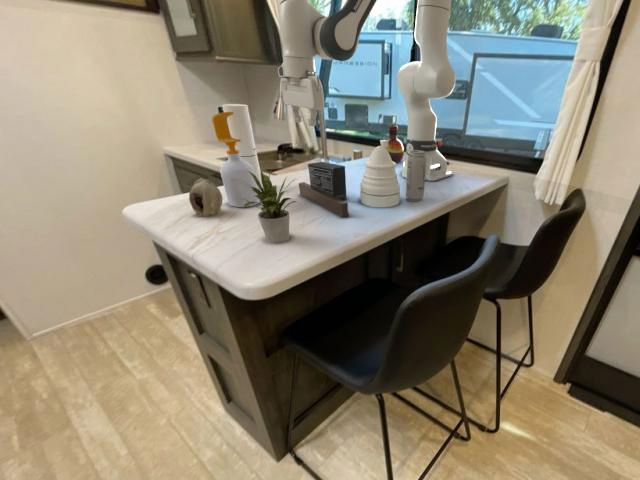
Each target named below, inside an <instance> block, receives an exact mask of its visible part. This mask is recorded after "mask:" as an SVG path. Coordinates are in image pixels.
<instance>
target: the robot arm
mask: <svg viewBox="0 0 640 480" xmlns="http://www.w3.org/2000/svg"><path fill="white" fill-rule="evenodd" d="M377 1H378V0H345V2H344V4H343V6H342V7H341V8H340V10H338V11H337V12H334V13H333V14H331V15H327V16H325V15H324V14H322V13H321V12H320V11H319V10H317V9H316V8H315V7H314V6H313V5H312V4H311V3H310V2H309V0H281V2H280V3H279V5H278V6H279V8H278V22H279V34H280V40H281V43H282V47H283V49H282V50H283V51H282V61H283V62H282V63H281V65H280V66H279V67H278V68H277V72H278V77H279V78H280V89H281V94H282V99H283V102H284V104H285V105H287V106H290V110H291V112H292V115H293V120H294V122H295V123H298V124H299V123H302V115H301V114H300V111H299V110H300V108H303V109H308V113H309V117H308V119H307V122H308V125H309V126H310V127H316V126H317V116H318V111H322V110H324V108H325V95H324V89H323V84H322V81H321V80H320V76H319V75H318V73H317V72H316V60H315V57H316V58H319V59H321V60H325V61H337V62H346V61H348V60H350V59H351V58H352V57H354V55H355V53H356V51H357V49H358V45H359V41H360V36H361V32H362V30H363V27H364V25H365V23H366V21H367V19H368V18H369V16H370V14H371V12H372V11H373V9H374V7H375V4H377V3H376V2H377ZM416 6H417V7H416V14H415V15H416V16H415V25H414V26H415V27H414V33H413V34H414V41H415V42H416V44H417V45H418V47H419V50H420V57H421V58H420V61H411V62H409V63H407V64H404V65H402V66H401V67H400V68H399V70H398V72H397V77H396V83H397V87H398V89H399V91H400V92H401V94H402V97H403V100H404V102H405V107H406V114H407V137H406V139H405V156H404V161H403V164H402V166H403V168H402V173H401V177H403V178H405V179H407V163H408V155H409V154H410V151H411V150H422V151H425V155H426V157H427V160H426V173H425V181H429V182H435V181H438V180H441V179H445V178H447V177H450V176H452V175H453V173H452V171H450V170H447V169H448V165H449V164H450V162H449V161H448V160H447V159H446V157H445V156H443V154H442V153H441V152H440V151H439V150H438V147H442V145H443V141H442V140H439V139H437V140H436V133H437V131H436V130H437V122H438V120H437V119H438V118H437V114H435V112H434V110H433V109H432V106H431V100H439V99H440V100H441V99H444V98H447V97H449V96H450V95H451V94H452V92H453V90H454V88H455V87H456V86H455V85H456V81H457V80H456V72H455V69H454V68H453V66H452V65H451V62H450V60H449V59H450V58H449V55H448V47H447V46H448V43H447V41H448V31H449V22H450V14H451V8H452V7H451V6H452V0H417V5H416ZM447 161H448V162H447Z"/></svg>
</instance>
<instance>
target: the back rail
mask: <svg viewBox="0 0 640 480" xmlns="http://www.w3.org/2000/svg"><path fill="white" fill-rule="evenodd" d="M298 189H299V196H301V197H303V198H304V199H307V200H308V201H310V202H312V203H314V204H316V205H318V206H320V207H322V208H324V209H325V210H327V211H329V212H331V213H333V214H335V215H337V216H338V217H341V218H347V217H349V203H348V202H347V201H345V200H341V199H338V198H336V197H334V196H332V195H330V194H328V193H326V192H324V191H322V190H319V189H317V188H315V187H313V186H311V185H310V183H307V182H304V181H303V182H298Z"/></svg>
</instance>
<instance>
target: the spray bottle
mask: <svg viewBox="0 0 640 480" xmlns="http://www.w3.org/2000/svg"><path fill="white" fill-rule="evenodd" d="M232 114H234V113H233V112H224V111H222V112H218V113H215V114H214V115H213V116H212V119H211V120H212V121H211V122H212V124H213V128H214V133H215V137H216V139H217V141H219V142H221V143H225V146H227V147H228V150H226V156H227V160H226V161H225V162H224V163H223V164H222V165H221V166H220V169H219V172H220V176H221V179H222V184H223V188H224V192H225V196H226V199H227V203H228V205H230V206H231V207H234V208H235V207H236V208H243V207H244V205H245V204H246V203H247V202H248V201H249V202H257V203H252V204H250V205H247V206H246V207H244V208H248V207H249V208H250V207H253V206H254V205H255V206H257V205H259V204H258V203H260V202H261V201H260V199H258V198H257V197H255V195H258V194H257V193H256V192H255V193H254V192H253V191H252V190H251V189H253V188H251V187H255V188H257V189H258V187H257V184H256V182H255V180H254V178H253V177H252V175H251V174H250V173H249V172H251V173H253V174H254V175H255V172H254V169H253V167H252V165H250V164H249V163H247V162H245V161H243V160H242V159H241V157H240V153H239V150H236V149H235V145H236V142H240V141H241V140H239V139H234V138H232V137H231V135H230V131H229V127H228V122H227V117H228V116H230V115H232ZM248 171H249V172H248ZM234 179H238V180H234ZM240 180H241V181H240ZM243 181H244V182H243ZM245 182H246V183H245ZM240 183H242V184H240ZM244 184H245V185H244ZM248 184H249V185H248ZM246 185H247V186H246ZM246 187H247V188H246ZM250 188H251V189H250ZM243 199H245V200H243ZM246 200H248V201H246ZM253 204H254V205H253ZM255 206H254V207H255Z"/></svg>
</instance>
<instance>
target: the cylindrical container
mask: <svg viewBox="0 0 640 480" xmlns="http://www.w3.org/2000/svg"><path fill="white" fill-rule="evenodd" d="M221 107H222V112H233V113H234V114H232V115H230V116H228V117H227V122H228V127H229V131H230V135H231V137H232V138H234V139H239V140H241V141H240V142H236V145H235V149H236V150H239V153H240V157H241V159H242V160H243V161H245V162H247V163H249V164H250V165H252V167H253V169H254V172H255V176H256V177H257V179H258V180H259V182H260V184H261V186H262V188H263V185H262V181H261V167H260V163H259V158H258V153H257V147H256V142H255V137H254V132H253V127H252V122H251V117H250V112H249V107H248V105H247V104H241V103H225V104H221ZM257 187H258V185H257ZM263 189H264V188H263ZM258 190H260V188H259V187H258Z"/></svg>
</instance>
